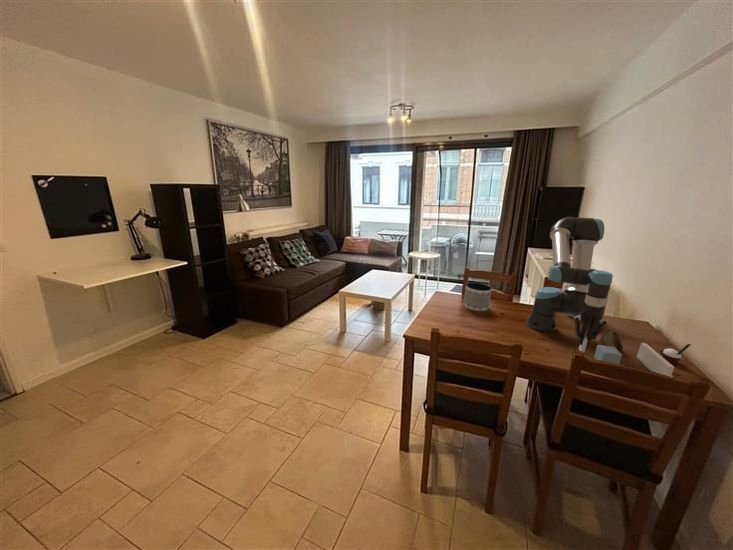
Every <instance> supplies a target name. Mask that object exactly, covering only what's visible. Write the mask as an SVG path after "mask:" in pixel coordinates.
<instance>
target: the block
mask: <svg viewBox="0 0 733 550" xmlns="http://www.w3.org/2000/svg"><path fill="white" fill-rule="evenodd" d="M622 356H623V354H622V352H620V351H618V350H617V349H616V348H615V347H610V346H607V345H604V344H603V345H602V344H597V345H596V347H595V352H594V356H593V358H594V360H596V359H597V360H602V361H607V362H612V363H616V364H619V365H620V363H621V360H622Z"/></svg>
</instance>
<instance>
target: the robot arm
mask: <svg viewBox="0 0 733 550" xmlns="http://www.w3.org/2000/svg"><path fill="white" fill-rule="evenodd" d="M549 231H550V232H549V237H550V240H551V242H552V243H551V244H552V245H551V246H552V265H550V267H549V269H548V272H547V274H548V275H547V278H548V280H549V281H551V282H557V283H563V284H564V283H569V286H568V288H566V289H565V291H564V292H562V290H561V289H560V288H557V287H553V286H552V287H551V286H544V287H540V288H538V289H537V290H536V292H535V295H534V302H533V307H532V311H531V313H530V315H529V316H528V318H527V319H526V323H525V324H526V325H527V327H529V328H531V329H533V330H536V331H538V332H544V333H552V332H555V331H556V329H557V322H556V314H557V313H559V314H565V315H566V314H570V315H575V316H574V317H572V318H573V319H574V324H575V325H574V328H575V331H574V332H575V335H576V337H578V345H579V347H578V351H579V352H580V351H582V352H581V353H585V352H586V348H587V347H588V346H589V345H590V342H591V341H592V340H596V339H597V337H598V335H599V334H600V333H601V331H602V329H603V327H604V326H606V325H607V324H608V322H607V320H605V319H603V314H604V310H605V308H604V307H605V306H606V302H607V300H608V299H607V298H608V295H609V292H610V289H611V286H612V283H613V277H614V275H613V273H612V272H608V271H606V270H600V269H598V270H597V269H595V268H592V264H591V262H592V261H593V254H594V248H595V246H596V245H597V244H599V241H602V240H603V238H604V235H605V224H604V221H603V220H602V219H600V218H593V217H578V216H577V217H574V216H566V217H562V218H561V219H559V220H557V221H556V222H555V223H553V225H552V227H551V228H550V230H549ZM570 239H572V243H573V245H574V248H573V249H574V250H573V256H572V261H571V251H570ZM587 287H588V290H587ZM581 320H582V325H581V322H580V321H581Z"/></svg>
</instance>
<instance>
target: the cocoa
mask: <svg viewBox="0 0 733 550" xmlns="http://www.w3.org/2000/svg"><path fill="white" fill-rule="evenodd" d="M691 345H692V344H691V343H687V344H686V345H685V346H684V347H682V348H681V349H680V350H679V351H677V350H676V349H673V348H665V349H664V350H660V356H662V357H663V358H664V359H665V360H666V361H668V362H669V363H670V364H677V363H678V362H680V360H681V359H682V357H683V356H682V354H683V352H685V351H686V350H687V349H688V348H690V346H691Z"/></svg>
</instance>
